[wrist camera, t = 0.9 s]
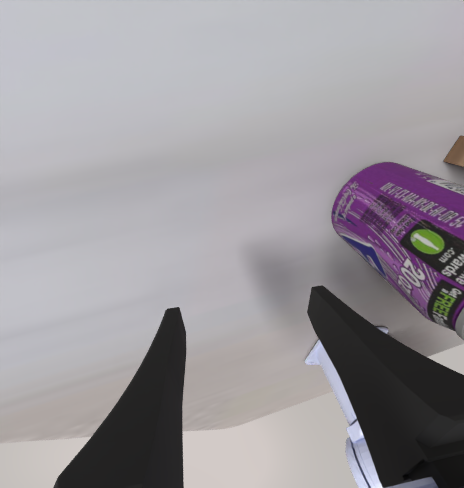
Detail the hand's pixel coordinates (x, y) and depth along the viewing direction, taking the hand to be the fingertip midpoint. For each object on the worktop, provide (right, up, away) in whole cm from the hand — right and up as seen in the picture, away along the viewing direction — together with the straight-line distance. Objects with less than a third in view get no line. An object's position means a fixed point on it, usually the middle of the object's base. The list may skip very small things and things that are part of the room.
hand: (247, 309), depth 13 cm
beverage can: (+11, +7, +8) cm, 15 cm away
